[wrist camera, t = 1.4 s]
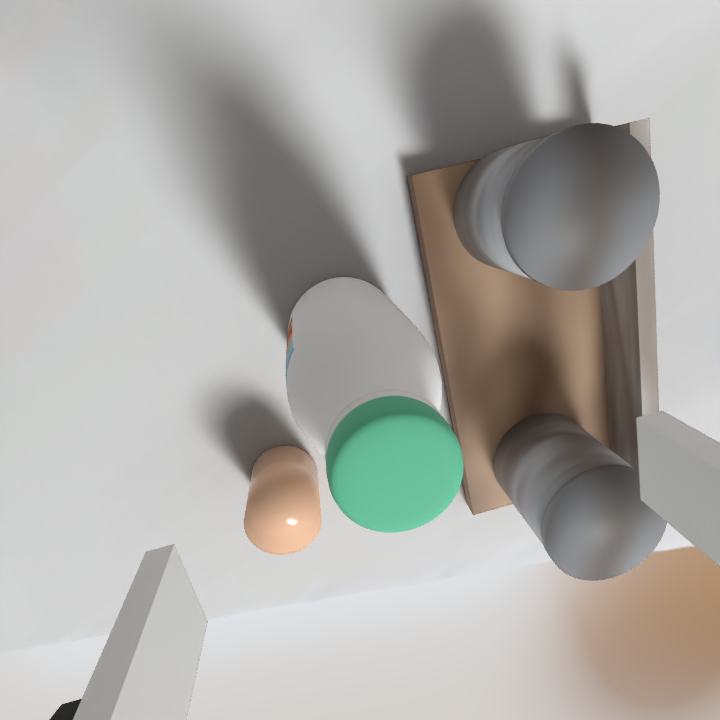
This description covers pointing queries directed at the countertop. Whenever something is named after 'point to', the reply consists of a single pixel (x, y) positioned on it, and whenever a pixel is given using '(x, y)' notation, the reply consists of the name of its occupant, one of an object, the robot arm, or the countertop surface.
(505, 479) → the rack
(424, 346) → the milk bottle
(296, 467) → the peach rounded cylinder
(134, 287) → the countertop surface
